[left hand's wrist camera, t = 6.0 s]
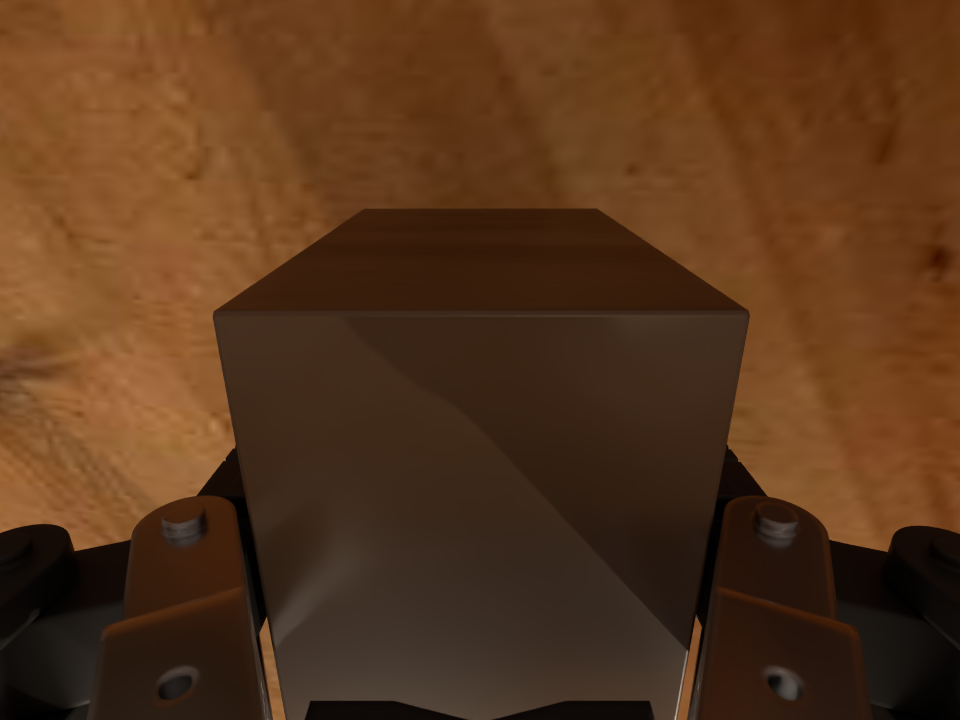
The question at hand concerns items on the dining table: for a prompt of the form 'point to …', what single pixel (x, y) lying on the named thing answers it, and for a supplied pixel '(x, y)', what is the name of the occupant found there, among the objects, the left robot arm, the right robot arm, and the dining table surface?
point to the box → (481, 458)
